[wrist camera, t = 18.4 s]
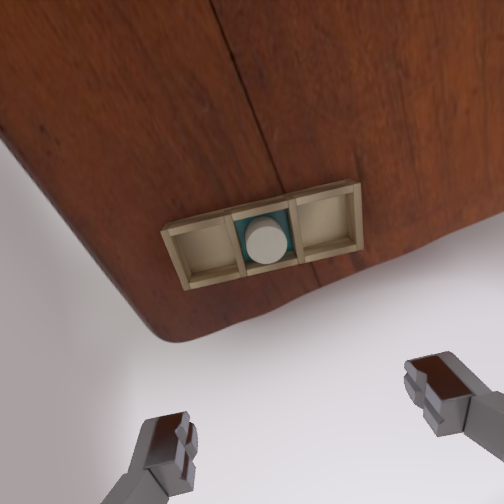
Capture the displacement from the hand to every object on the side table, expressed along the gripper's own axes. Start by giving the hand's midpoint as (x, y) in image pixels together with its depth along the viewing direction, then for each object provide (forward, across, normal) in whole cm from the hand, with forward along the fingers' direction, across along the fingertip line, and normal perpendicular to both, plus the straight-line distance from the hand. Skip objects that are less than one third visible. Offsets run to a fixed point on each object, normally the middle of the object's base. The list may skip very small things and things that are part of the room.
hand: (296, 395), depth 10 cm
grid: (+18, -1, 0) cm, 18 cm away
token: (+17, -1, 0) cm, 17 cm away
